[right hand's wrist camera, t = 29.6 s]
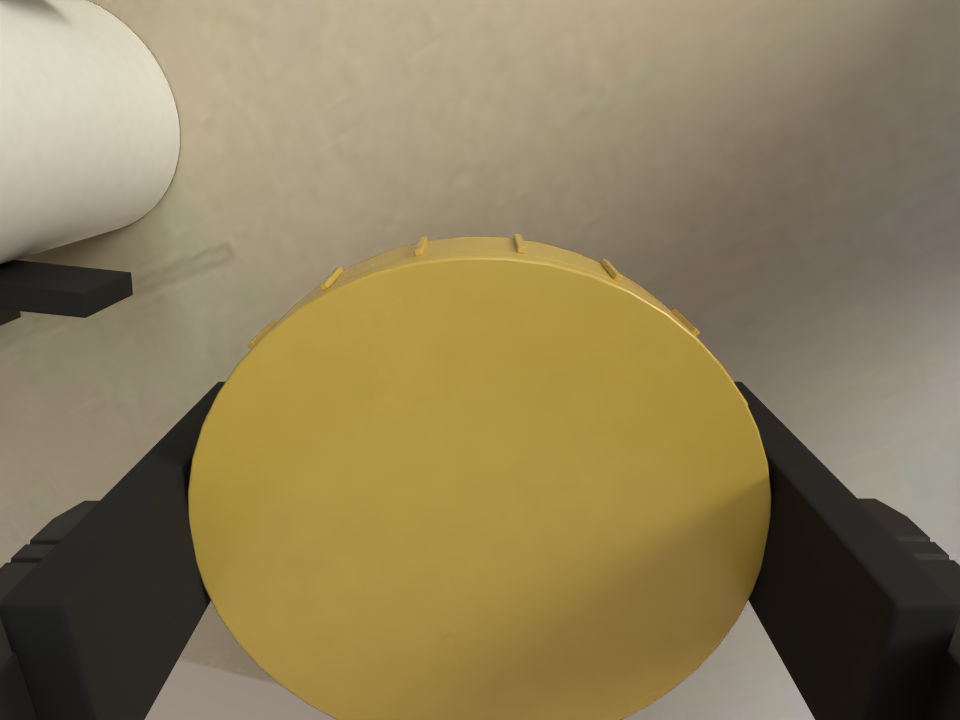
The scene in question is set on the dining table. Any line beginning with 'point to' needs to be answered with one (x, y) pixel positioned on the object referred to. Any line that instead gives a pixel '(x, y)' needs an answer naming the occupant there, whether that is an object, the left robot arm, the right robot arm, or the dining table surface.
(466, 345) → the lid
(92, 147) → the jar
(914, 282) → the dining table surface
